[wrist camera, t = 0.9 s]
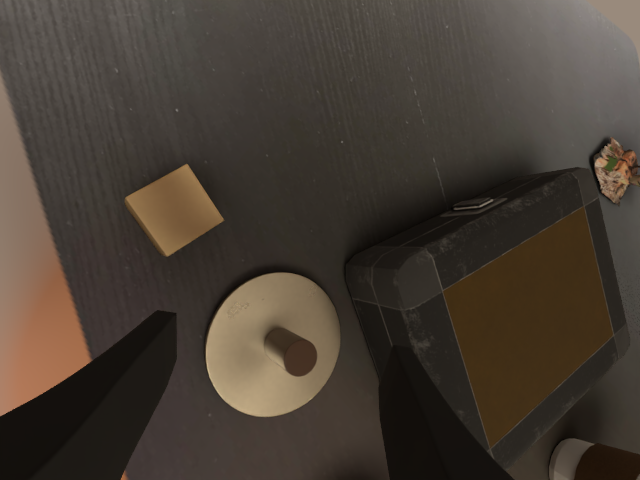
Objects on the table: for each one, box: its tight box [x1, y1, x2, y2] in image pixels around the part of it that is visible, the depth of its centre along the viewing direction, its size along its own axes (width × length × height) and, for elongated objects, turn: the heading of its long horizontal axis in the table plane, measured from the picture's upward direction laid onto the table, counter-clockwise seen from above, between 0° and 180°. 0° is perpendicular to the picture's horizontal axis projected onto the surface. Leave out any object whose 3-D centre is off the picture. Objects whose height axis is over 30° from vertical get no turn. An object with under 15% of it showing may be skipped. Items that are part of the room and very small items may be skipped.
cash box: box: [346, 167, 630, 471], centre depth 36 cm, size 25×20×8 cm
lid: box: [205, 272, 341, 417], centre depth 27 cm, size 11×11×5 cm
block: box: [125, 164, 224, 256], centre depth 25 cm, size 4×4×4 cm
